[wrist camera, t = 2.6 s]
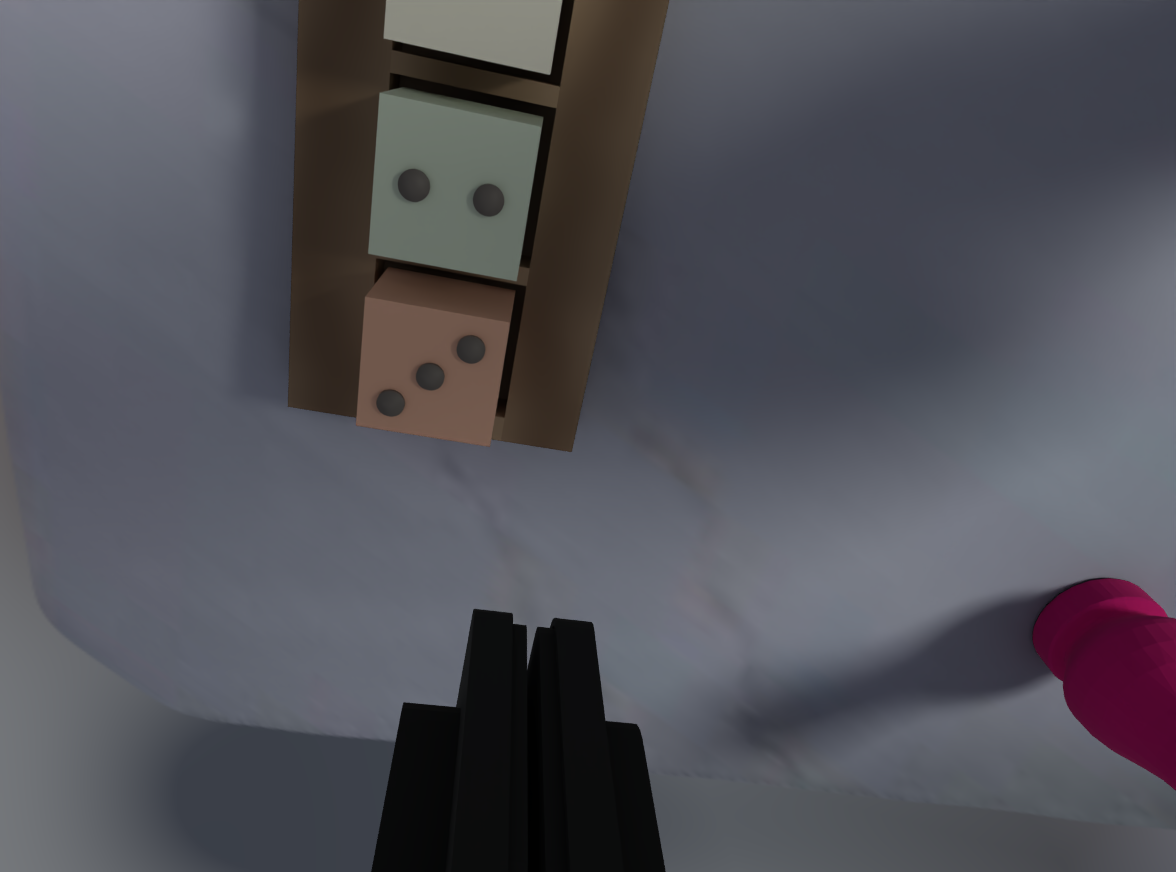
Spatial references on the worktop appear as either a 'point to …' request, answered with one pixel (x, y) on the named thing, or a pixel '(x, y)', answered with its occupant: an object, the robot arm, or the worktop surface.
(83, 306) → the worktop surface
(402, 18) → the one-pip tile
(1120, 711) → the pepper mill
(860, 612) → the worktop surface
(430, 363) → the three-pip tile
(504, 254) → the two-pip tile
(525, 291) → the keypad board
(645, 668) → the worktop surface
